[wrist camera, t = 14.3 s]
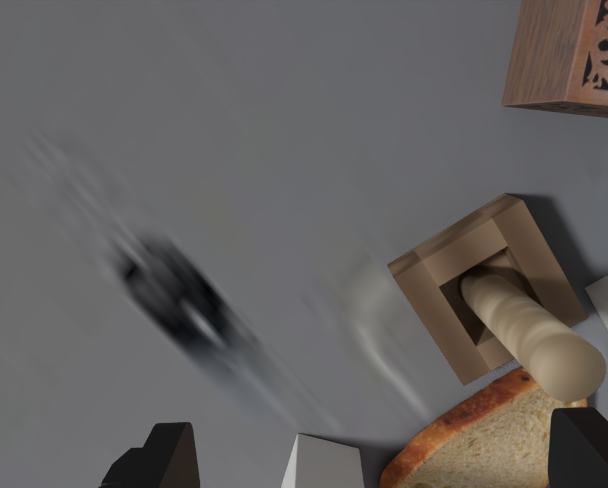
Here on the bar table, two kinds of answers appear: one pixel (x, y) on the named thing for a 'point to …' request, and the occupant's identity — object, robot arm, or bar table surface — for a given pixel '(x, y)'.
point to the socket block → (497, 255)
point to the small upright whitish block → (600, 297)
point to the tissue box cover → (560, 58)
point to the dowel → (534, 336)
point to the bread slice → (483, 440)
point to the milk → (323, 465)
